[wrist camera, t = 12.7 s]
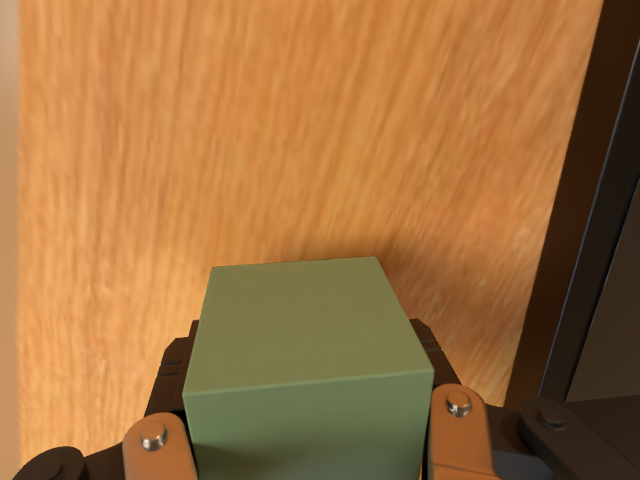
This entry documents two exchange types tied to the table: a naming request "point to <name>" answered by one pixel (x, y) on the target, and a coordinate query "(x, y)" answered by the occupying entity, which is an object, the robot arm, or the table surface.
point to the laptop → (593, 253)
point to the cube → (306, 375)
